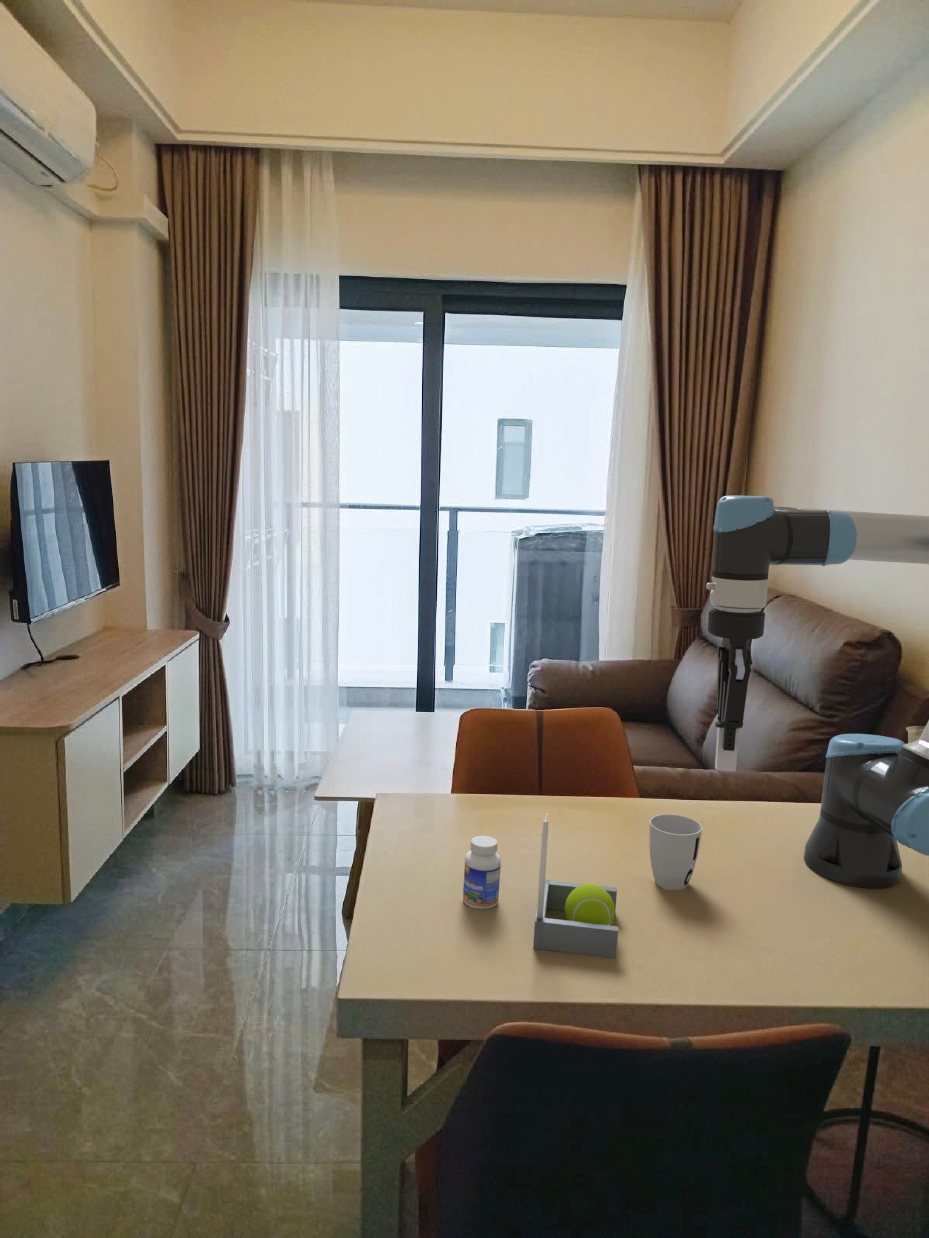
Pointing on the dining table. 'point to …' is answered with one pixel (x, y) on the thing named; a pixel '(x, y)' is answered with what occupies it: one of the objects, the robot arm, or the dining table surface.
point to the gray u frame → (562, 931)
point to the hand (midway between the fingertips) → (725, 768)
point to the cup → (673, 849)
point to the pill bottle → (482, 873)
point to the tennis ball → (590, 905)
